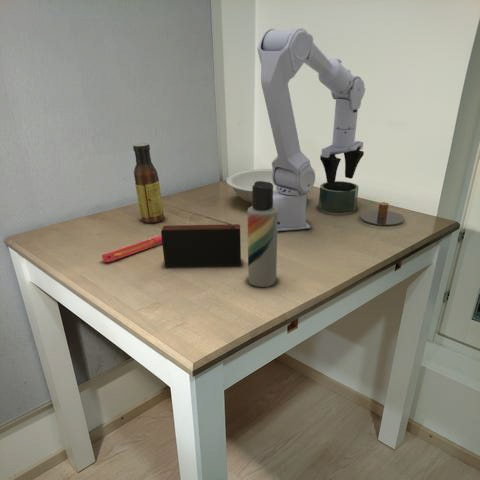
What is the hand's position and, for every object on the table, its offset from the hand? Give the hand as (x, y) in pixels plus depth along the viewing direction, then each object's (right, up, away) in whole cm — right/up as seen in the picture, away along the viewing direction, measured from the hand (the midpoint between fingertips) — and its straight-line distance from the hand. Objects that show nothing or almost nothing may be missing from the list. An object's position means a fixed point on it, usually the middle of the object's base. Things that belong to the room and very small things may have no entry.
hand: (339, 180), depth 129 cm
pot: (0, -7, +4) cm, 8 cm away
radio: (-37, -26, -25) cm, 52 cm away
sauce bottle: (-51, -11, -1) cm, 53 cm away
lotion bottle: (-23, -31, -33) cm, 51 cm away
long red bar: (-49, -21, -17) cm, 56 cm away
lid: (+10, -12, -5) cm, 16 cm away
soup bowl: (-19, -3, +11) cm, 23 cm away
